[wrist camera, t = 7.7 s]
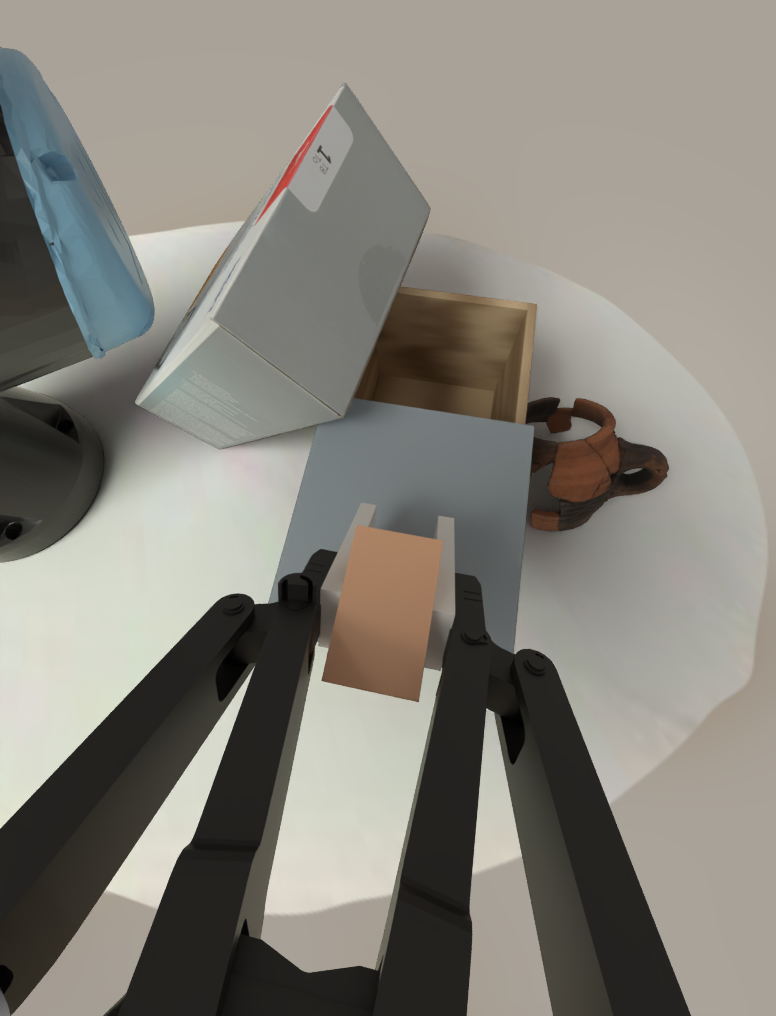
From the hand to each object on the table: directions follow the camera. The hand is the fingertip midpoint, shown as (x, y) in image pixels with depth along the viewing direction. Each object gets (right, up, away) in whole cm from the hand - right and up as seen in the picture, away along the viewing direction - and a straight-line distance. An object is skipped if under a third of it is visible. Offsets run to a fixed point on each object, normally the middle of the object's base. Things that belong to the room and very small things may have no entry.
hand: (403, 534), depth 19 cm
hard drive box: (-16, +15, +16) cm, 27 cm away
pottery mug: (+14, +4, +14) cm, 20 cm away
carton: (+2, +7, +15) cm, 17 cm away
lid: (0, 0, +3) cm, 3 cm away
